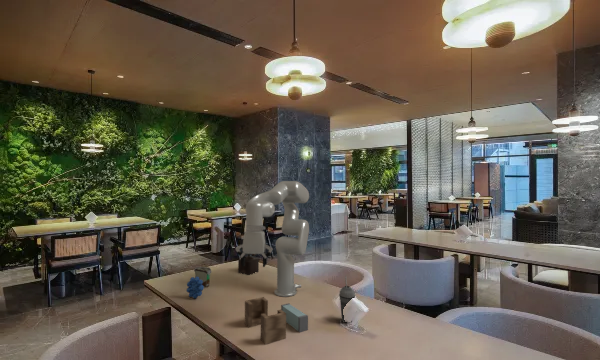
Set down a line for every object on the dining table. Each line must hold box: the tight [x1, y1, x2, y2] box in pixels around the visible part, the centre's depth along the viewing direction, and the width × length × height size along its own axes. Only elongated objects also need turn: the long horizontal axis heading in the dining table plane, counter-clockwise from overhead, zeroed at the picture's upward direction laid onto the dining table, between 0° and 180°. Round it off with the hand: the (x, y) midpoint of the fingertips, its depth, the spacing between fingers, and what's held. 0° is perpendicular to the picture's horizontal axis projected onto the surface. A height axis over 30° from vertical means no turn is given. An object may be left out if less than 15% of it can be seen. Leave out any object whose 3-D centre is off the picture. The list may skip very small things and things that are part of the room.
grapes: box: [186, 276, 205, 300], centre depth 169 cm, size 12×7×12 cm, turn 63°
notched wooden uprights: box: [244, 296, 287, 345], centre depth 132 cm, size 9×21×10 cm, turn 32°
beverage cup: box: [338, 275, 356, 323], centre depth 142 cm, size 7×7×20 cm
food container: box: [193, 266, 212, 288], centre depth 191 cm, size 12×6×10 cm, turn 58°
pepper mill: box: [237, 254, 260, 276], centre depth 217 cm, size 16×11×18 cm
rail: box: [280, 302, 309, 333], centre depth 139 cm, size 4×16×6 cm, turn 32°
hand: (253, 266), depth 145 cm, fingers open, 9 cm apart
